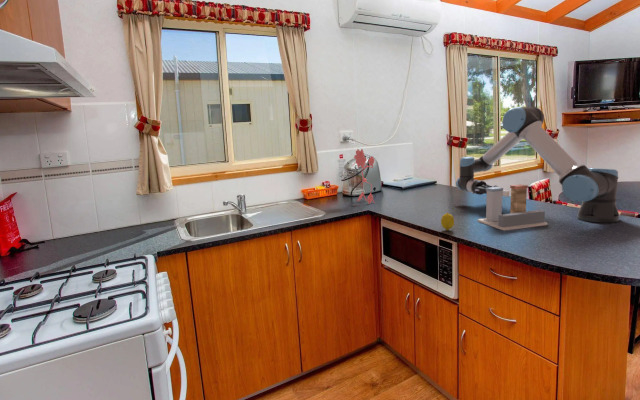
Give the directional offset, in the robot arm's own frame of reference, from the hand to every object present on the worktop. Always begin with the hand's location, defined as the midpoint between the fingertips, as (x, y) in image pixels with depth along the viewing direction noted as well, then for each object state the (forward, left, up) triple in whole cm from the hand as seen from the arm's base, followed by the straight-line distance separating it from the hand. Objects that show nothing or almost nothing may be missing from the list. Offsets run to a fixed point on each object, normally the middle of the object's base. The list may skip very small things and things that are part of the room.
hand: (507, 193), depth 176 cm
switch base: (0, +12, -11) cm, 17 cm away
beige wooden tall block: (-4, +6, -10) cm, 12 cm away
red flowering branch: (+79, -33, -12) cm, 87 cm away
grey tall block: (+8, +12, -10) cm, 18 cm away
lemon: (+28, +27, -12) cm, 41 cm away
